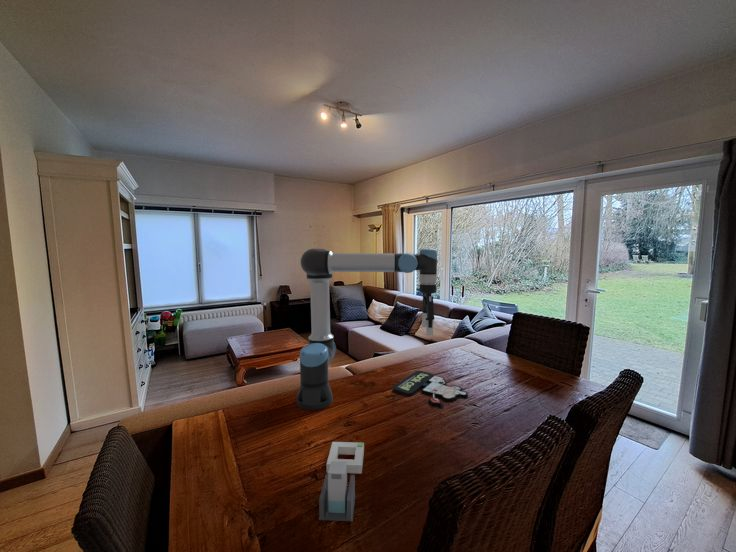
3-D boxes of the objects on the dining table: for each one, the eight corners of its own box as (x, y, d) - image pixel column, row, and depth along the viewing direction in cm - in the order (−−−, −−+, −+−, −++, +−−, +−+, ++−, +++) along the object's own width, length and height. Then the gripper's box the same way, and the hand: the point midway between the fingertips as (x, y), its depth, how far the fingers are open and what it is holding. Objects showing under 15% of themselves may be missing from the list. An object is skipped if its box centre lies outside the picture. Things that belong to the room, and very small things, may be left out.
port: (326, 474, 84) (326, 463, 84) (332, 450, 94) (332, 440, 94) (361, 475, 84) (361, 464, 83) (364, 451, 94) (363, 441, 93)
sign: (417, 369, 156) (475, 385, 138) (417, 373, 156) (475, 388, 138) (389, 388, 135) (453, 409, 116) (389, 392, 135) (453, 413, 117)
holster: (318, 521, 69) (318, 499, 69) (325, 494, 77) (324, 473, 77) (352, 523, 69) (352, 500, 68) (355, 495, 77) (355, 475, 76)
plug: (328, 512, 71) (327, 473, 70) (331, 498, 75) (331, 461, 74) (345, 513, 71) (344, 473, 70) (347, 499, 75) (346, 461, 74)
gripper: (442, 286, 119) (441, 338, 121) (431, 281, 144) (431, 324, 146) (423, 286, 120) (422, 338, 121) (416, 281, 145) (415, 323, 146)
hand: (427, 330), depth 134 cm, fingers open, 13 cm apart
